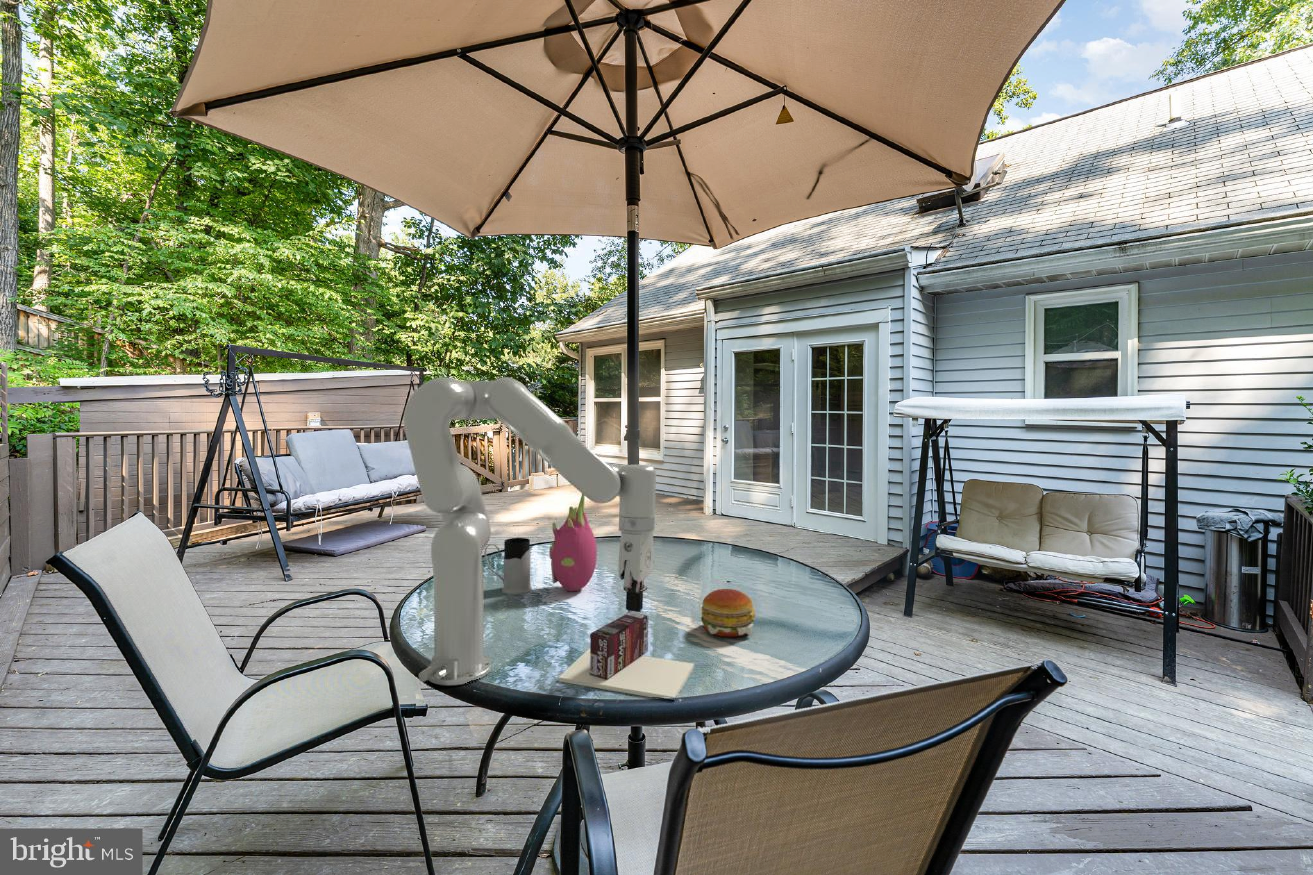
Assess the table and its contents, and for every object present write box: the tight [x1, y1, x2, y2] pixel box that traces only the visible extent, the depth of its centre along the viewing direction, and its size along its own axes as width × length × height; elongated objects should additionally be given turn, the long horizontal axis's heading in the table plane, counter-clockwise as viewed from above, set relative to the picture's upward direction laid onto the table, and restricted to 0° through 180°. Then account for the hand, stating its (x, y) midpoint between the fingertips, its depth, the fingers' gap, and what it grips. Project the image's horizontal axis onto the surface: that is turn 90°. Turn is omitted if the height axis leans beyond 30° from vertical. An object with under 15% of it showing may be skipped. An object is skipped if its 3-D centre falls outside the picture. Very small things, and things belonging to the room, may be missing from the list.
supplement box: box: [589, 611, 650, 680], centre depth 118 cm, size 9×5×16 cm
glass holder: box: [484, 537, 533, 595], centre depth 170 cm, size 9×14×15 cm, turn 89°
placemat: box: [557, 647, 695, 698], centre depth 115 cm, size 15×24×1 cm, turn 72°
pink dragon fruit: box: [549, 493, 598, 592], centre depth 170 cm, size 18×14×30 cm
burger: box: [700, 588, 756, 638], centre depth 139 cm, size 13×14×10 cm
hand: (634, 609), depth 119 cm, fingers closed
